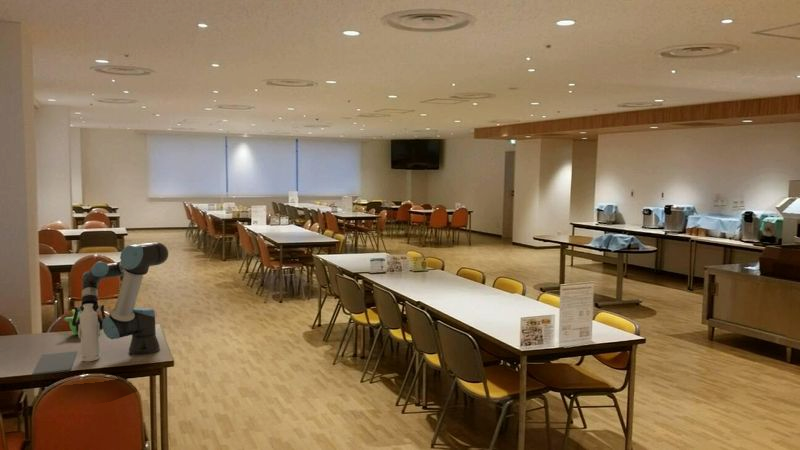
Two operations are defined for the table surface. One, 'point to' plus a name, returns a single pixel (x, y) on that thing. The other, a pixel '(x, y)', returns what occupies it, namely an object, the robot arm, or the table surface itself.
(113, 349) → the table surface
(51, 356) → the mat
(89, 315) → the bottle
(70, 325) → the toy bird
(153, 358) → the table surface
